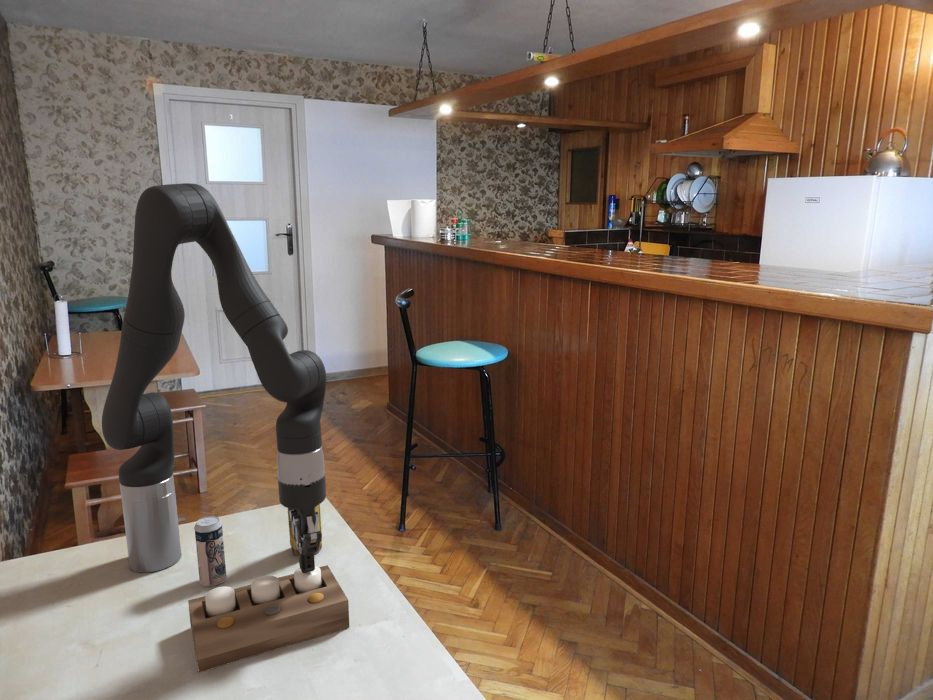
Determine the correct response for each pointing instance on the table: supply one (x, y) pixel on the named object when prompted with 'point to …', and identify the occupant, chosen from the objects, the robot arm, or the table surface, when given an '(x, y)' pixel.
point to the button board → (267, 621)
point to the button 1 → (220, 601)
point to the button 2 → (265, 590)
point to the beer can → (210, 551)
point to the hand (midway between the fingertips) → (307, 570)
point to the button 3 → (307, 580)
